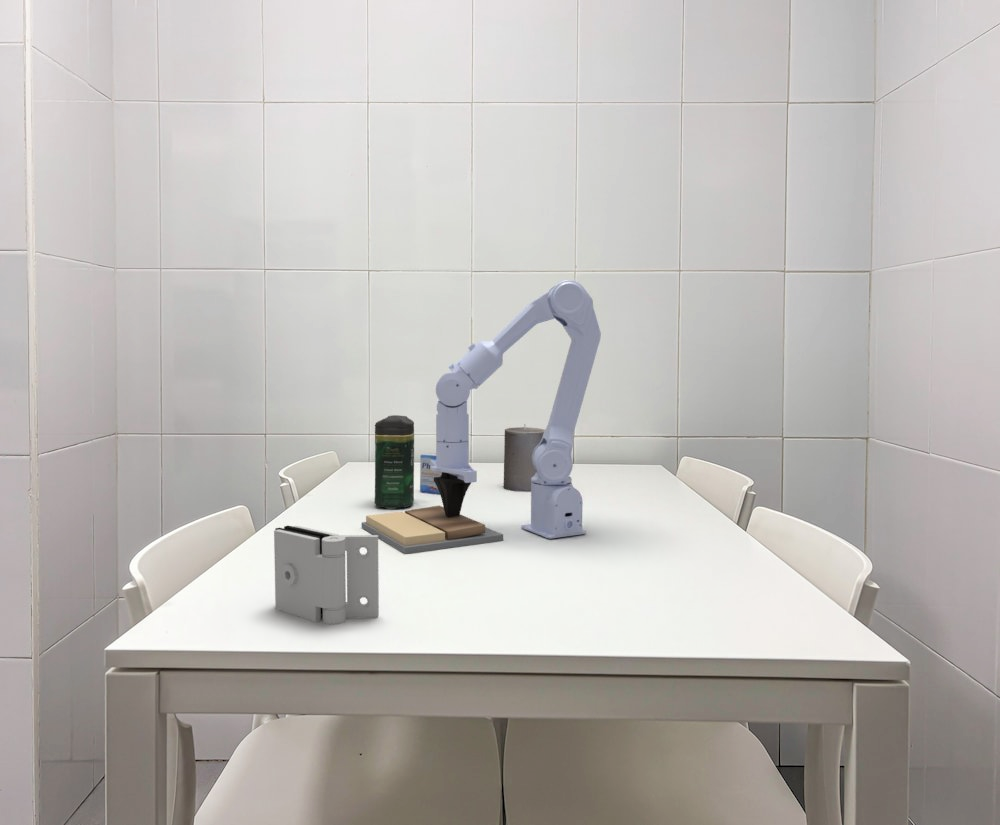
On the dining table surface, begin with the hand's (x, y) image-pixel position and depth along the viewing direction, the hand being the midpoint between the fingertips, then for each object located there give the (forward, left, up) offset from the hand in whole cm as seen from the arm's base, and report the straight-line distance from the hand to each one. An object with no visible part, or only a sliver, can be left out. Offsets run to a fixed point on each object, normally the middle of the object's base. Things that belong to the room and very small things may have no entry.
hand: (452, 516), depth 137 cm
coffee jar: (+26, 0, -3) cm, 26 cm away
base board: (0, +4, -3) cm, 5 cm away
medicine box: (+34, -14, -3) cm, 37 cm away
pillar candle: (+30, -34, -3) cm, 45 cm away
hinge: (-30, +32, -3) cm, 44 cm away
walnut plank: (0, +2, -1) cm, 2 cm away
